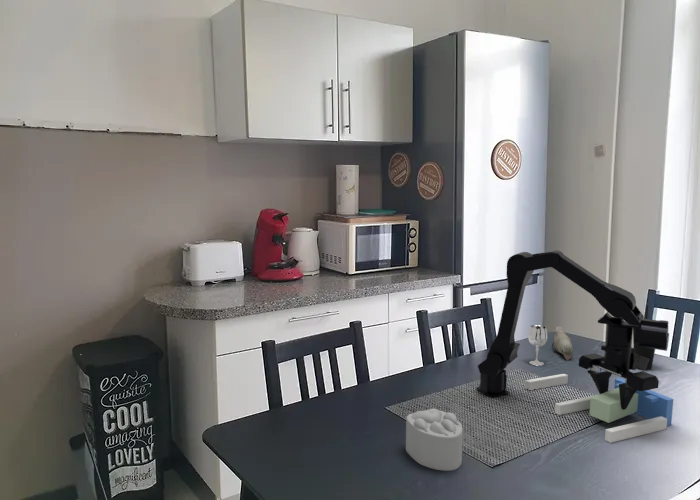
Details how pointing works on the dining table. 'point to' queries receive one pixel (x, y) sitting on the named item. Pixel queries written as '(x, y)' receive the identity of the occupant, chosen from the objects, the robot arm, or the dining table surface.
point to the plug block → (611, 406)
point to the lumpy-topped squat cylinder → (434, 439)
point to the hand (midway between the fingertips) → (614, 404)
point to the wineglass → (537, 340)
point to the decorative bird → (563, 343)
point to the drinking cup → (642, 350)
